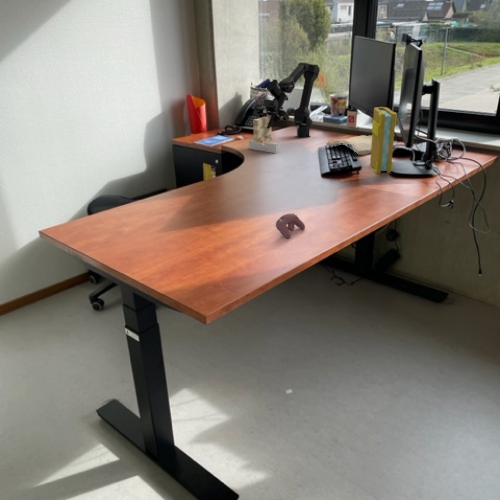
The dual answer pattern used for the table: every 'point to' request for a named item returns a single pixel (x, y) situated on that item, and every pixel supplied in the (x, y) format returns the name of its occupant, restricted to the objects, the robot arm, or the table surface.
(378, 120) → the book
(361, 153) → the beige piece
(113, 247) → the table surface
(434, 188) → the table surface
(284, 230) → the video game controller
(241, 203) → the table surface
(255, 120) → the birch slotted plate
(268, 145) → the light grey slotted rail
